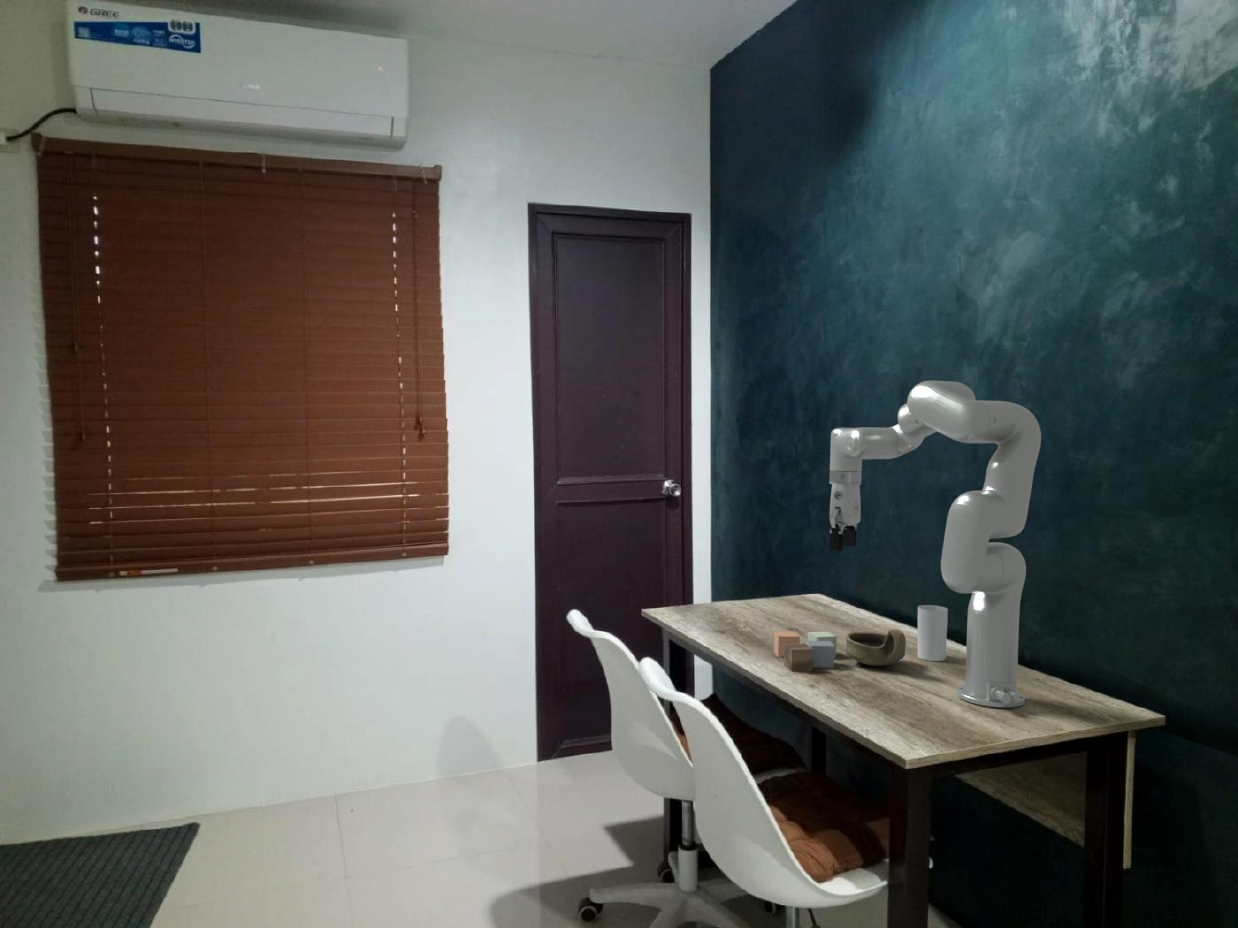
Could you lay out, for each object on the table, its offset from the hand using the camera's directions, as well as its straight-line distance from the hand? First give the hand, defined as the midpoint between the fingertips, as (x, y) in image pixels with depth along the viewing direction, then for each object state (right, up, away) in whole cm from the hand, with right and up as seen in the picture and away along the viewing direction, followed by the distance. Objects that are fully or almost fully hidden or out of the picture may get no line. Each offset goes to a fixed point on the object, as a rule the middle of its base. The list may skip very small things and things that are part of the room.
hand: (843, 547), depth 212 cm
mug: (+19, -26, -5) cm, 33 cm away
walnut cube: (-14, -26, -16) cm, 34 cm away
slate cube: (-9, -26, -13) cm, 30 cm away
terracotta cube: (-15, -25, -4) cm, 30 cm away
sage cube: (-6, -25, -4) cm, 26 cm away
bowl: (+4, -26, -14) cm, 30 cm away
